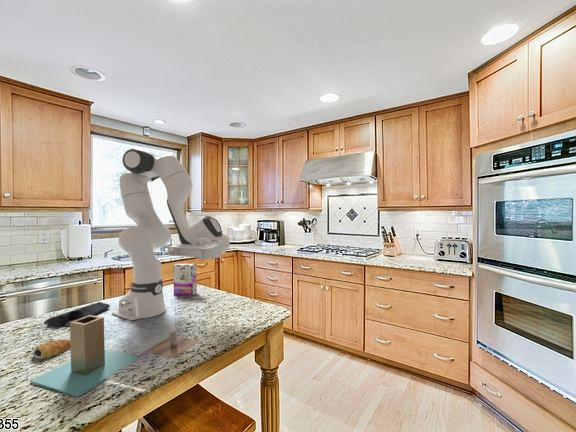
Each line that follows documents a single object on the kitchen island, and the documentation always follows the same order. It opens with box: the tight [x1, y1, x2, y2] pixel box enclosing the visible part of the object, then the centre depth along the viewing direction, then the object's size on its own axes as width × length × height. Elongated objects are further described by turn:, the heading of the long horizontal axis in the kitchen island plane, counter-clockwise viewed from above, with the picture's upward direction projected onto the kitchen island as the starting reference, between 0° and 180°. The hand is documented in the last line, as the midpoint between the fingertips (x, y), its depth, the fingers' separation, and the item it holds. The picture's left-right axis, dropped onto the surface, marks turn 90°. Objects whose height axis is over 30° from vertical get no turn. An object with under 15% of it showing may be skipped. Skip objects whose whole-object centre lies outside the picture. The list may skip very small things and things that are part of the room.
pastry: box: [32, 339, 71, 360], centre depth 89 cm, size 9×7×4 cm
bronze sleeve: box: [69, 315, 106, 376], centre depth 78 cm, size 6×6×14 cm
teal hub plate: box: [29, 349, 140, 398], centre depth 78 cm, size 18×18×5 cm
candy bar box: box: [172, 263, 198, 297], centre depth 148 cm, size 11×5×16 cm, turn 80°
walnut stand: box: [144, 330, 200, 359], centre depth 91 cm, size 12×12×6 cm
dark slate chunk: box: [43, 301, 111, 328], centre depth 119 cm, size 15×22×5 cm
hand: (179, 254), depth 98 cm, fingers open, 8 cm apart
